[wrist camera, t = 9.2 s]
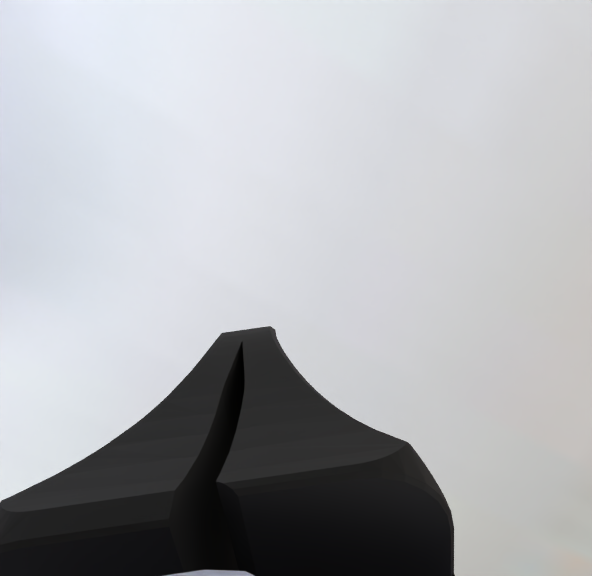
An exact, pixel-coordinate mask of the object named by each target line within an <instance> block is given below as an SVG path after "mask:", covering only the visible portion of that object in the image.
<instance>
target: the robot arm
mask: <svg viewBox="0 0 592 576" xmlns="http://www.w3.org/2000/svg"><path fill="white" fill-rule="evenodd" d="M0 576H455V575H454V526H453V520H452V515H451V510H450V508H449V506H448V504H447V501H446V499H445V497H444V495H443V493H442V491H441V489H440V488H439V486H438V484H437V483H436V481H435V479H434V478H433V476H432V474H431V473H430V471H429V470H428V468H427V467H426V465H425V464H424V462H423V461H422V460H421V458H420V457H419V455H418V454H417V453H416V451H415V450H414V449H413V447H412V446H411V445H410V444H409V443H408V442H406V441H403V440H401V439H398V438H395V437H393V436H390V435H388V434H385V433H383V432H380V431H377V430H375V429H373V428H371V427H369V426H367V425H365V424H363V423H361V422H359V421H357V420H355V419H353V418H352V417H350V416H349V415H347V414H346V413H344V412H343V411H341V410H339V409H338V408H336V407H335V406H334V405H333V404H331V403H330V402H329V401H328V400H326V399H325V398H324V397H323V396H322V395H321V394H319V393H318V392H317V391H316V390H315V389H314V388H313V387H312V386H311V385H310V384H309V383H308V382H307V381H306V380H305V379H304V377H303V376H302V375H301V374H300V373H299V372H298V370H297V369H296V368H295V367H294V365H293V364H292V363H291V361H290V360H289V358H288V357H287V356H286V354H285V353H284V351H283V349H282V347H281V346H280V344H279V342H278V340H277V337H276V332H275V329H273V328H272V327H270V326H268V327H261V328H254V329H247V330H240V331H233V332H226V333H222V334H221V335H220V336H219V337H218V338H217V340H216V341H215V342H214V343H213V345H212V346H211V347H210V349H209V350H208V351H207V352H206V354H205V355H204V356H203V357H202V359H201V360H200V361H199V362H198V364H197V365H196V366H195V367H194V368H193V370H192V371H191V372H190V373H189V374H188V375H187V376H186V377H185V378H184V380H183V381H182V382H181V383H180V384H179V385H178V386H177V387H176V388H175V389H174V390H173V391H172V392H171V393H170V394H169V395H168V396H167V397H166V398H165V399H164V400H163V401H162V402H161V403H160V404H159V405H158V406H157V407H155V408H154V409H153V410H152V411H151V412H149V413H148V414H147V415H146V416H145V417H144V418H142V419H141V420H140V421H139V422H137V423H136V424H135V425H133V426H132V427H131V428H129V429H128V430H126V431H125V432H124V433H122V434H121V435H119V436H118V437H117V438H115V439H114V440H112V441H111V442H110V443H108V444H107V445H105V446H104V447H102V448H101V449H99V450H97V451H96V452H94V453H93V454H91V455H89V456H88V457H86V458H85V459H83V460H81V461H79V462H78V463H76V464H74V465H72V466H71V467H69V468H67V469H65V470H63V471H62V472H60V473H58V474H56V475H54V476H52V477H50V478H48V479H46V480H44V481H42V482H40V483H38V484H36V485H34V486H32V487H30V488H28V489H26V490H24V491H21V492H19V493H17V494H15V495H13V496H11V497H9V498H7V499H4V500H2V501H1V503H0Z"/></svg>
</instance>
